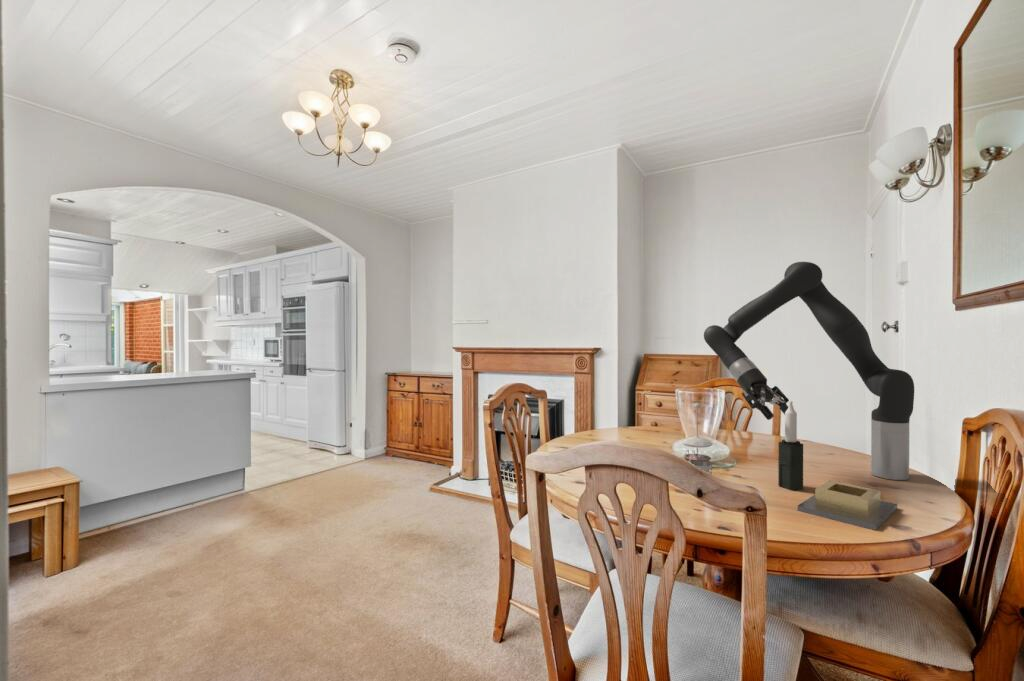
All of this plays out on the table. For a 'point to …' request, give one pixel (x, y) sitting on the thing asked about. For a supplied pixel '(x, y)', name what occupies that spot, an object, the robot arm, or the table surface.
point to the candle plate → (850, 516)
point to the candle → (790, 454)
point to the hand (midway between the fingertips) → (781, 416)
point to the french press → (697, 459)
